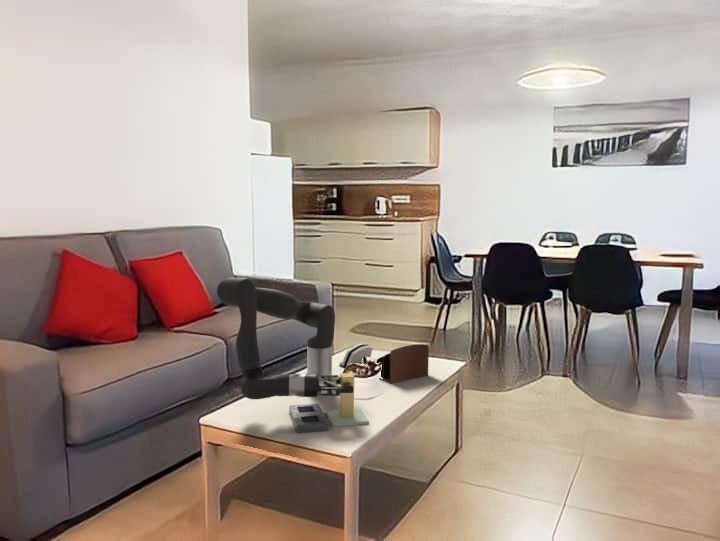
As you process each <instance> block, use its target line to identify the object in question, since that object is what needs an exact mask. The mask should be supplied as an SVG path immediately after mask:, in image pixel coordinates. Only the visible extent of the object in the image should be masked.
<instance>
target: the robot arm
mask: <svg viewBox="0 0 720 541" xmlns="http://www.w3.org/2000/svg"><path fill="white" fill-rule="evenodd" d="M216 294H217V297H218V299H219V301H220V302H221V303H222V304H223V305H226V306H227V307H228V306H230V307H238V309H239V314H240V326H239V329H238V332H237V336H236V340H235V351H236V357H237V364H238V366H239V368H240V370H241V375H242V383H241V386H240V392H241V394H242V396H243V397H244V398H246V399H249V400H262V399H270V398H272V397H294V398H317V397H318V395H321V396H323V397H325V396H326V397H340V394H342V393H353V386H340V375H338V374H333V373H332V372H333V370H332V367H333V366H332V365H333V341H334V337H335V326H336V325H335V324H336V313H335V309H334V307H333V306H332V305H330V304H326V303H320V302H310V301H305V300H299V299H298V298H297V297H295V296H294V295H293V294H291V293H289V292H286V291H282V290H279V289H275V288H274V289H273V288H266V287H256V285H255V283H254V281H253V280H252V279H250V278H249V277H248V278H247V277H227V278H224V279H222V281H220V282H219V284H218V285H217V288H216ZM258 313H261V314H264V315H267V316H270V317H272V318H277V319H280V320H294V321H297V322H299V323H302V324H304V325H306V326H308V327H311V328H316V335H311V336H310V337H308V338H307V343H306V344H307V346H306V349H307V351H306V352H307V354H306V355H307V360H306V362H307V364H306V373H294V374H274V375H273V376H271V377H268V378H267V377H266V378H265V375H264V372H263V369H262V365H261V359H260V358H261V356H260V351H259V344H258V335H257V333H258V332H257V319H258V318H257V314H258Z"/></svg>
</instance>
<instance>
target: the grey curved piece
mask: <svg viewBox="0 0 720 541" xmlns="http://www.w3.org/2000/svg"><path fill="white" fill-rule="evenodd" d="M372 352H373V347H372V346H370V345H369V344H367V343H364V342H363V343H358V344H355V345H354V346H352V347H351V348H348V350H347V351H346V353H345V356H344V358H343V360H342V361H340V362H339V365H338V367H339V366H340V367H342V366H343V367H345V366H346V365H348V364H350V363H361V362H362V358H363V356H366V357H370V358H371V356H372ZM361 364H362V363H361ZM341 365H342V366H341Z"/></svg>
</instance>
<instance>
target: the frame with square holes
mask: <svg viewBox="0 0 720 541" xmlns="http://www.w3.org/2000/svg"><path fill="white" fill-rule="evenodd" d="M288 408H289V409H288V412H289V416H290V418H291V421H292V424H293V427H294V429H295V433H296V434H302V433H303V434H304V433H315V432H316V431H319V432H329V422H328V419H327V417H326V416H325V414H324V412H323V410H322V408H321V406H320V404H319V403H308V404H294V405H289V406H288Z"/></svg>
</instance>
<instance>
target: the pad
mask: <svg viewBox="0 0 720 541" xmlns="http://www.w3.org/2000/svg"><path fill="white" fill-rule="evenodd" d="M362 410H363V409H361V407H360V408H358V407H356V408H354V418H341V416H340V409H329V410H327V409H326V410H325V415H326V418H328V419H327V420H328V421H329V423H330V425H331V426H332V427H333V428H334V427H346V426H347V425H349V426H359V425H358V424H363V425H369V424H370V422H369V418H368V417H367V416H366V414H364V412H363V411H362ZM347 427H348V426H347Z"/></svg>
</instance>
